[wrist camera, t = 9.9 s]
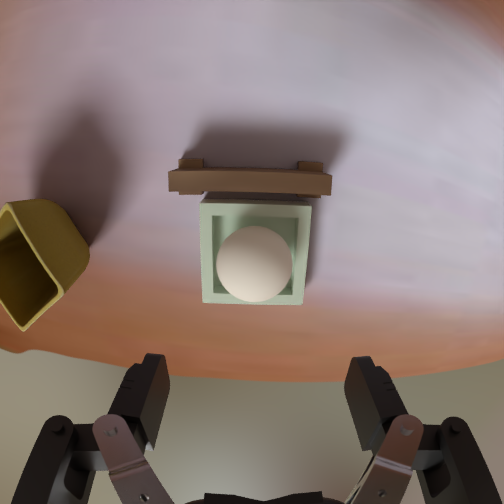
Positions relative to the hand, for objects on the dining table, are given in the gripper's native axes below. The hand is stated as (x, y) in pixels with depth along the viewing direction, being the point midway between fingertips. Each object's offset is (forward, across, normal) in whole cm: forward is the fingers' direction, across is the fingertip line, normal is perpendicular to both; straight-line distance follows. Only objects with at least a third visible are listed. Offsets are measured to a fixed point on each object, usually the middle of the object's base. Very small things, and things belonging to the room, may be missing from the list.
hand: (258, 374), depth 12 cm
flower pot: (+16, +20, 0) cm, 26 cm away
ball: (+16, 0, 0) cm, 16 cm away
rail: (+16, 0, -6) cm, 17 cm away
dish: (+16, 0, 0) cm, 16 cm away
